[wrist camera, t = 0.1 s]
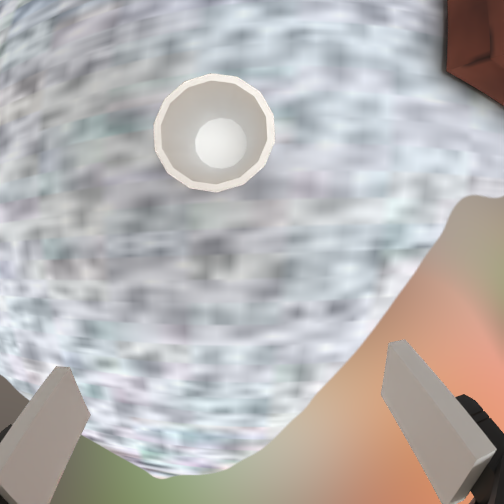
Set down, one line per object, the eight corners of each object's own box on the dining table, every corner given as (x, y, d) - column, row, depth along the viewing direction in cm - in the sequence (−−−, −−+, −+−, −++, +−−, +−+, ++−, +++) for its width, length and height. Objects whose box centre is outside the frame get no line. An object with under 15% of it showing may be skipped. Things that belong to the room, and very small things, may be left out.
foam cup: (174, 176, 37) (144, 182, 24) (188, 100, 34) (164, 69, 22) (255, 189, 37) (264, 200, 25) (268, 112, 35) (285, 85, 23)
